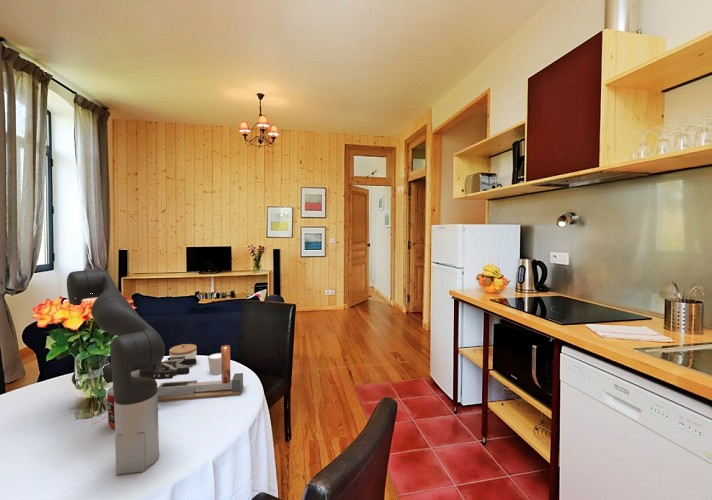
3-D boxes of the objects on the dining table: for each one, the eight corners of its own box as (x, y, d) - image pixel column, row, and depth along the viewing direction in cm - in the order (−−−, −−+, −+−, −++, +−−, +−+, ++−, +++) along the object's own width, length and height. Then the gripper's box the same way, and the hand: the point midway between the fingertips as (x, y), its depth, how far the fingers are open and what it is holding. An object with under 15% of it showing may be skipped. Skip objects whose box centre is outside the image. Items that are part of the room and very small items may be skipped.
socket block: (240, 392, 122) (240, 379, 121) (231, 392, 121) (231, 380, 121) (243, 384, 127) (242, 373, 127) (234, 385, 127) (234, 373, 127)
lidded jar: (202, 361, 152) (201, 341, 152) (187, 371, 142) (186, 349, 141) (180, 360, 154) (179, 339, 153) (163, 369, 143) (163, 347, 143)
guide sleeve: (193, 394, 119) (193, 385, 119) (157, 397, 117) (156, 388, 117) (197, 388, 124) (197, 380, 124) (162, 391, 122) (161, 382, 121)
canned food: (103, 425, 102) (101, 390, 101) (131, 413, 109) (130, 379, 109) (117, 432, 99) (116, 396, 98) (145, 419, 106) (144, 385, 105)
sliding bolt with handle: (239, 388, 123) (238, 347, 122) (186, 393, 120) (185, 350, 119) (240, 385, 126) (239, 344, 125) (188, 389, 122) (187, 347, 122)
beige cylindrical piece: (208, 370, 143) (207, 354, 142) (225, 367, 145) (225, 351, 145) (208, 376, 136) (208, 359, 136) (226, 373, 139) (226, 357, 139)
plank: (240, 395, 121) (240, 392, 121) (155, 402, 116) (155, 399, 116) (243, 386, 128) (243, 384, 128) (163, 392, 123) (162, 390, 123)
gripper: (133, 366, 111) (186, 363, 114) (151, 351, 125) (198, 348, 128) (133, 389, 111) (186, 385, 114) (151, 371, 125) (198, 368, 128)
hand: (192, 365), depth 121 cm, fingers open, 8 cm apart
